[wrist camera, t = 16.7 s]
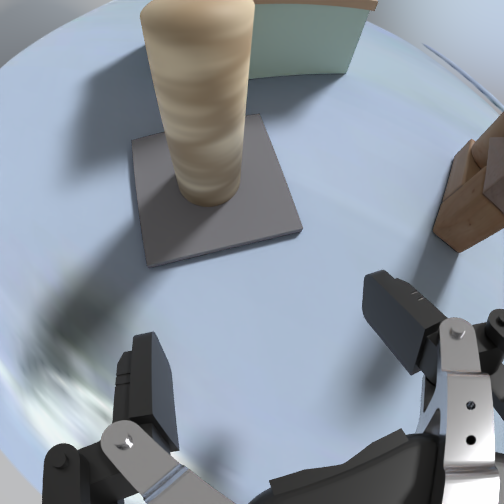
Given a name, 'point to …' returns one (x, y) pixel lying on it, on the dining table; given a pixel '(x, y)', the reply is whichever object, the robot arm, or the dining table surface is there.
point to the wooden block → (474, 191)
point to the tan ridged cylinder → (201, 89)
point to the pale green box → (305, 36)
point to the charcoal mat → (217, 217)
